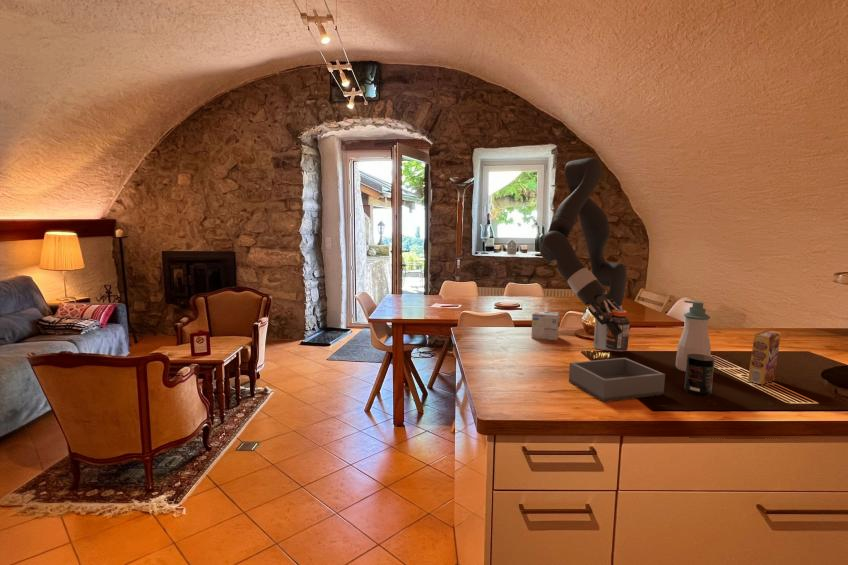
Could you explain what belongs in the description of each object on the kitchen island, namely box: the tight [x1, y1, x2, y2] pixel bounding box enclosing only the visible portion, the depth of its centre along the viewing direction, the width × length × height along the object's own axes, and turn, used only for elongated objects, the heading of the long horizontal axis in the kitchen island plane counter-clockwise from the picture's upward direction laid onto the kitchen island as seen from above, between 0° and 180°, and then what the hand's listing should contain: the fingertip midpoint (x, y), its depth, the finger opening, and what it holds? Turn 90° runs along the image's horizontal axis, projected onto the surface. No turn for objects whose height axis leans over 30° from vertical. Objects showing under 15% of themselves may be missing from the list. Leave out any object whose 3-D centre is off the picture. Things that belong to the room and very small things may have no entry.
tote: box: [568, 357, 666, 403], centre depth 130 cm, size 20×16×6 cm
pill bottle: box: [606, 309, 631, 352], centre depth 129 cm, size 6×6×11 cm
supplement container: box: [683, 354, 716, 397], centre depth 127 cm, size 7×7×10 cm
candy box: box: [747, 330, 782, 386], centre depth 136 cm, size 9×4×15 cm, turn 123°
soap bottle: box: [675, 300, 712, 373], centre depth 146 cm, size 10×10×23 cm
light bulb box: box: [530, 310, 560, 341], centre depth 188 cm, size 11×7×11 cm, turn 71°
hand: (623, 331), depth 128 cm, fingers closed on pill bottle, 6 cm apart
